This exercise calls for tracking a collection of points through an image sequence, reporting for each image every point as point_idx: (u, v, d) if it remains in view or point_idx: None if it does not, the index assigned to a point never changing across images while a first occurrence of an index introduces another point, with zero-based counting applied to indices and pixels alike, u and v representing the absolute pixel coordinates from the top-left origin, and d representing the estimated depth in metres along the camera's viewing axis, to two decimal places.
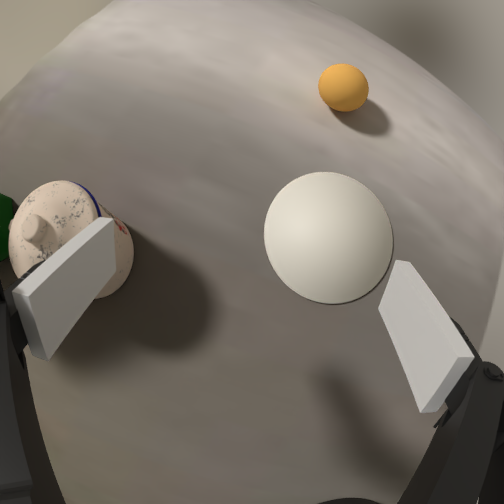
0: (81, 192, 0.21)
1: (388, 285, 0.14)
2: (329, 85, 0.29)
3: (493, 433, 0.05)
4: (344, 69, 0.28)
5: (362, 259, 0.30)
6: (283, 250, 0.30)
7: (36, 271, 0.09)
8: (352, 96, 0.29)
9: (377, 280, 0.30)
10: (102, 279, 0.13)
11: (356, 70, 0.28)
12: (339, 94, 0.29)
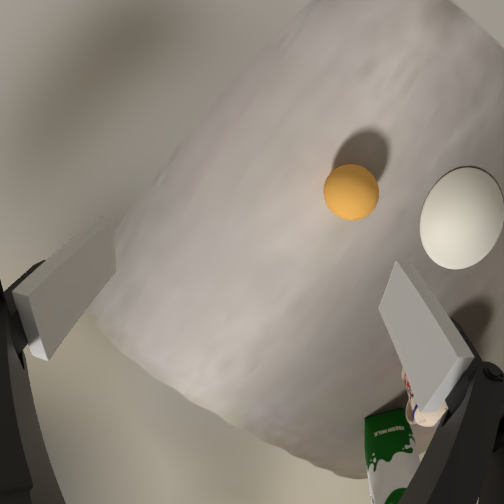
0: None
1: (388, 285, 0.14)
2: (362, 217, 0.30)
3: (493, 433, 0.05)
4: (352, 204, 0.28)
5: (485, 199, 0.31)
6: (465, 257, 0.34)
7: (36, 271, 0.09)
8: (377, 196, 0.29)
9: (499, 191, 0.30)
10: (102, 279, 0.13)
11: (352, 189, 0.28)
12: (373, 208, 0.30)
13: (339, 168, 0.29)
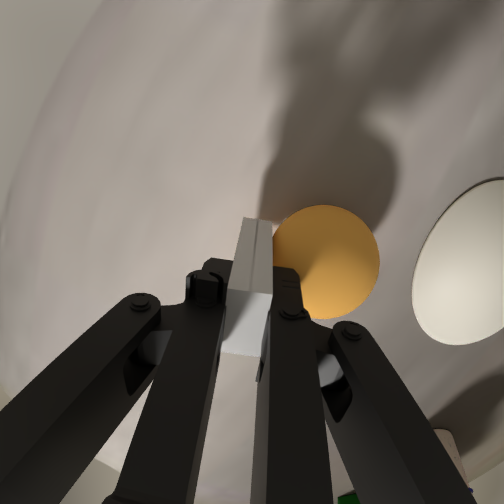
0: None
1: None
2: None
3: (314, 378, 0.07)
4: (350, 303, 0.14)
5: None
6: (485, 325, 0.20)
7: (235, 268, 0.11)
8: None
9: None
10: None
11: (351, 276, 0.13)
12: None
13: (305, 226, 0.14)
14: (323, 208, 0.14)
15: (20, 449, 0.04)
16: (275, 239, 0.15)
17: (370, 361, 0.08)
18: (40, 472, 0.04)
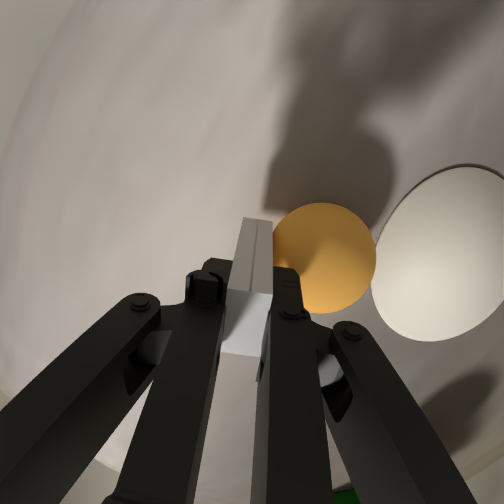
0: None
1: None
2: None
3: (315, 378, 0.07)
4: (360, 293, 0.15)
5: (495, 224, 0.17)
6: (457, 321, 0.20)
7: (234, 268, 0.11)
8: None
9: None
10: None
11: (363, 269, 0.14)
12: None
13: (316, 228, 0.14)
14: (324, 207, 0.15)
15: (20, 449, 0.04)
16: (281, 243, 0.14)
17: (370, 361, 0.08)
18: (40, 472, 0.04)
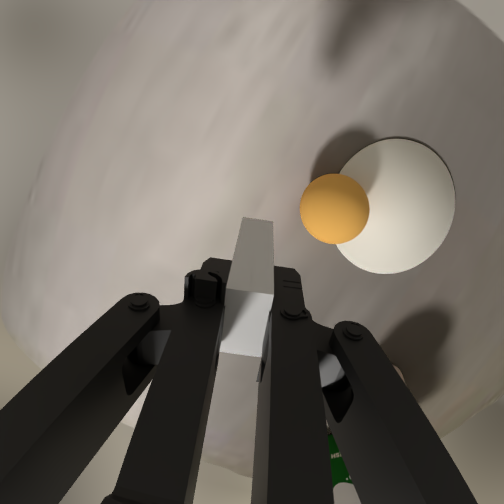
0: None
1: None
2: None
3: (316, 378, 0.07)
4: None
5: (424, 180, 0.26)
6: (403, 257, 0.29)
7: (234, 268, 0.11)
8: None
9: (444, 167, 0.25)
10: None
11: None
12: None
13: (361, 193, 0.23)
14: (348, 179, 0.23)
15: (19, 449, 0.04)
16: (353, 211, 0.22)
17: (371, 361, 0.08)
18: (39, 472, 0.04)
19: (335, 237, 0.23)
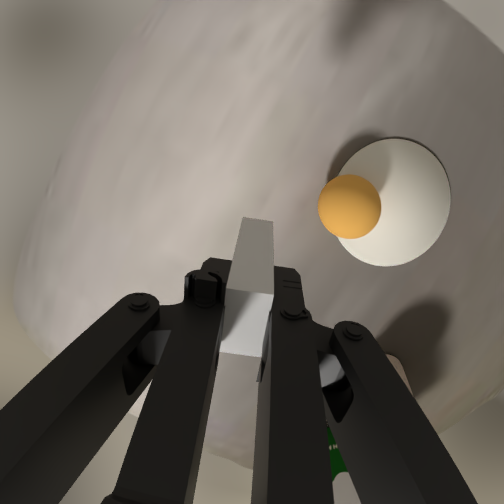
0: None
1: None
2: None
3: (316, 378, 0.07)
4: None
5: (420, 178, 0.27)
6: (401, 251, 0.31)
7: (234, 268, 0.11)
8: None
9: (439, 165, 0.27)
10: None
11: None
12: None
13: (377, 192, 0.25)
14: (365, 180, 0.25)
15: (20, 449, 0.04)
16: (377, 209, 0.25)
17: (371, 361, 0.08)
18: (40, 472, 0.04)
19: (361, 234, 0.25)
